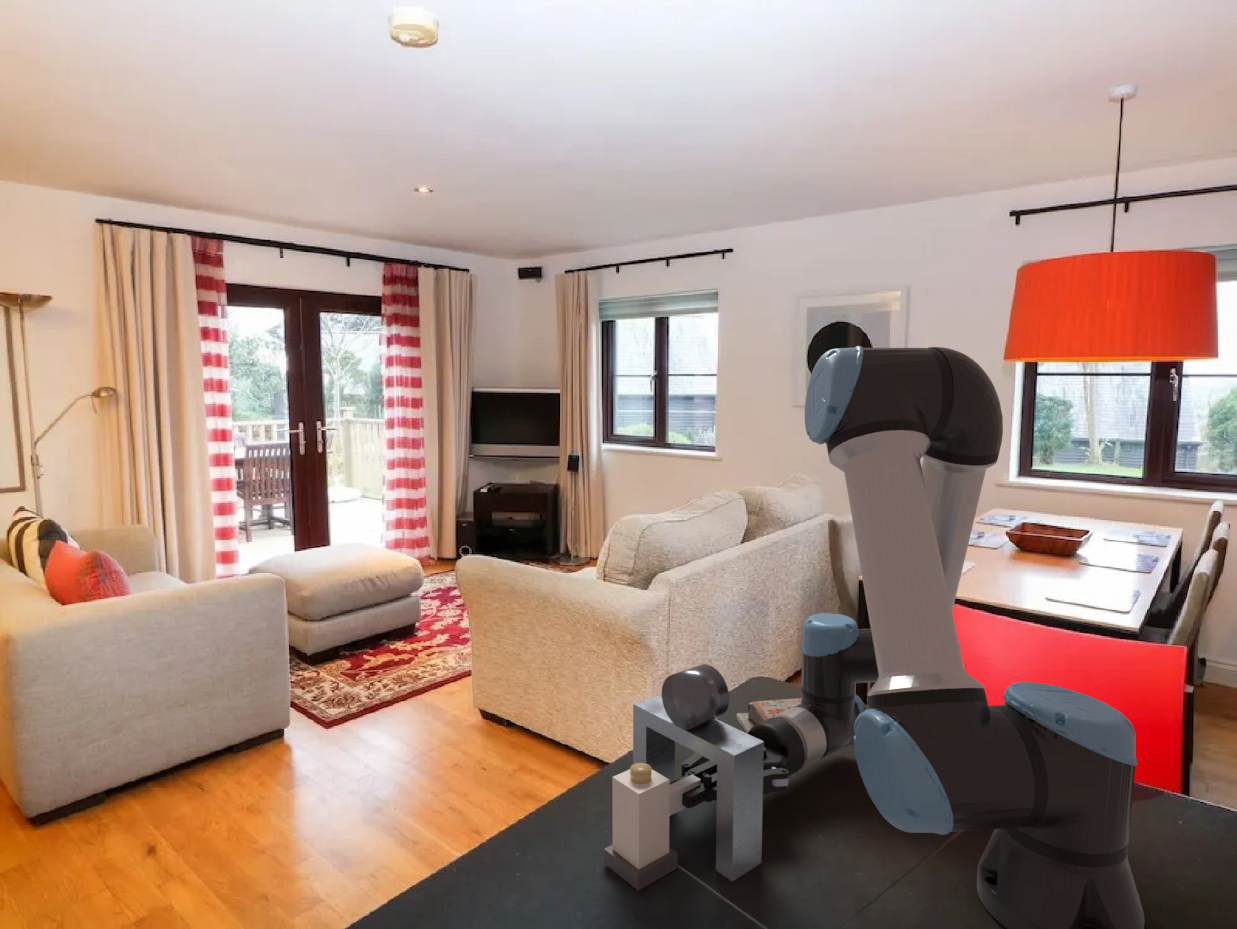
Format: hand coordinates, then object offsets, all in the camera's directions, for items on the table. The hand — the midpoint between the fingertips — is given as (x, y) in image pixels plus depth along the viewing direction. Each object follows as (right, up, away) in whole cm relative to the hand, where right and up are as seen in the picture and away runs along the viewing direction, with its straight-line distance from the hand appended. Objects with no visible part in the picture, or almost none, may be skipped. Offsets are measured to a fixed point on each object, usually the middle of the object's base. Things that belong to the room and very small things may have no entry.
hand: (657, 806), depth 85 cm
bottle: (-2, -6, -1) cm, 7 cm away
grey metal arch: (+5, -6, +4) cm, 9 cm away
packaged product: (+25, -4, +33) cm, 42 cm away
